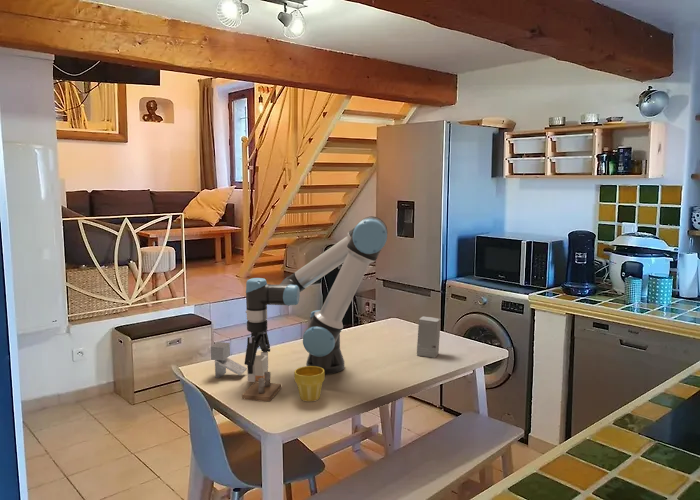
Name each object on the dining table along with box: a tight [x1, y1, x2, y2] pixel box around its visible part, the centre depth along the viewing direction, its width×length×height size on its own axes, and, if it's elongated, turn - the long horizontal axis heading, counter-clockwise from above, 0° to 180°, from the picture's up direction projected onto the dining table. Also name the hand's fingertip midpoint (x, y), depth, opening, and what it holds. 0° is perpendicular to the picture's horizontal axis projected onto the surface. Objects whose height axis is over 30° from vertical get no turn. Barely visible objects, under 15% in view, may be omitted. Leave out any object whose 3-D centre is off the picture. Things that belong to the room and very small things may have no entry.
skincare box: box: [416, 316, 442, 359], centre depth 235 cm, size 8×7×16 cm
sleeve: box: [249, 354, 269, 382], centre depth 209 cm, size 6×6×8 cm
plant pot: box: [293, 366, 326, 403], centre depth 191 cm, size 10×10×10 cm
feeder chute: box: [210, 341, 247, 379], centre depth 211 cm, size 12×6×12 cm, turn 78°
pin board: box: [241, 371, 282, 402], centre depth 195 cm, size 10×12×6 cm
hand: (258, 374), depth 210 cm, fingers open, 13 cm apart
